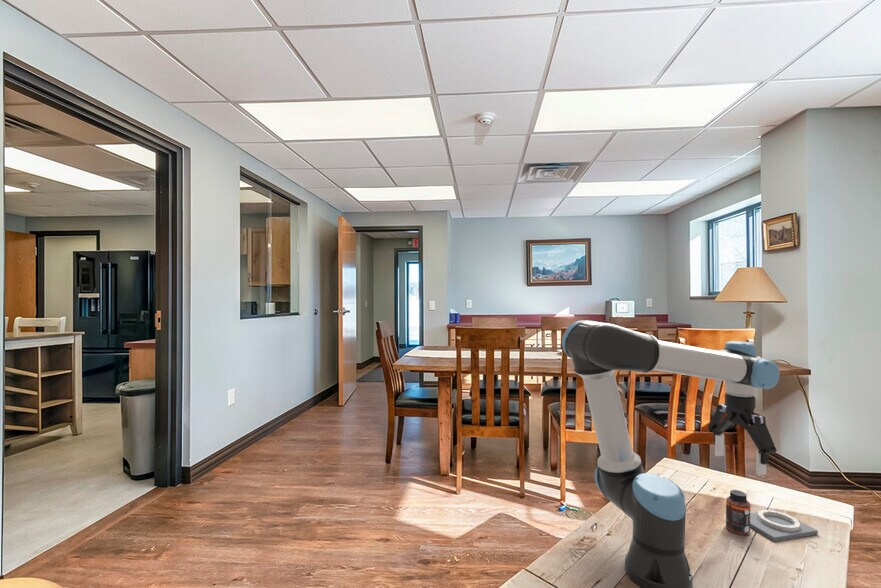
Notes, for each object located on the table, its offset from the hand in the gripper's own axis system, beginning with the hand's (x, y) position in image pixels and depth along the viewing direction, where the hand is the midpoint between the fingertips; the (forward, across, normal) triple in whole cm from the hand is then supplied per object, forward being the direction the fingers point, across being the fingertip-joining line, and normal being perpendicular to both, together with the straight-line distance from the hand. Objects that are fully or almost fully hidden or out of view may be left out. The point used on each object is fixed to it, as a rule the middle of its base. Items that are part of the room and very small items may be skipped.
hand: (739, 464), depth 127 cm
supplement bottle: (+20, 0, 0) cm, 20 cm away
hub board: (+20, -1, -13) cm, 24 cm away
